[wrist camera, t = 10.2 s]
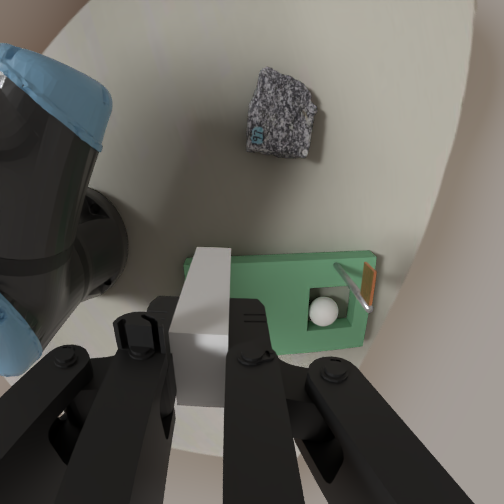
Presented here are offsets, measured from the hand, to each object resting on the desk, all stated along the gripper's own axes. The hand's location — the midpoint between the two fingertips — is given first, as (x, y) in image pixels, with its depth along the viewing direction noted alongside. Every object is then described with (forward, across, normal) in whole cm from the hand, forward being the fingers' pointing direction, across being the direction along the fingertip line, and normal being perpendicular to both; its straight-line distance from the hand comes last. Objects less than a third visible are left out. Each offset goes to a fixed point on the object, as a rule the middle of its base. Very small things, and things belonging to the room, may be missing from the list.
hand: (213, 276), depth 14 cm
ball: (+22, +13, -15) cm, 30 cm away
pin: (+22, +13, -6) cm, 26 cm away
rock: (+25, +5, +9) cm, 27 cm away
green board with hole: (+24, +8, -14) cm, 29 cm away
